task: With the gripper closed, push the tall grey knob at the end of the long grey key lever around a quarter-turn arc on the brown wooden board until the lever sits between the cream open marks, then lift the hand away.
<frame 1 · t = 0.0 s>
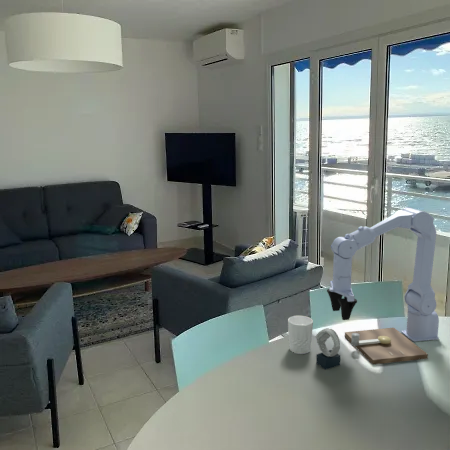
hand: (340, 314, 153), 10 cm above the table, tool pointing down, fingers open, 7 cm apart
key lever: (371, 337, 151), point 4 cm above the table, hinge at 0.0°
watch: (327, 364, 142), on the table
white cup: (299, 349, 152), on the table
brown wooden board: (383, 346, 152), on the table
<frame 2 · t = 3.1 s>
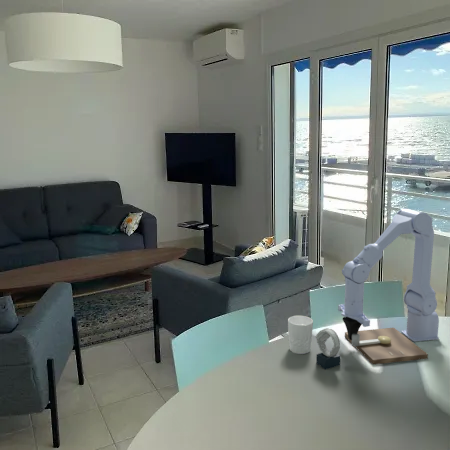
hand: (352, 339, 152), 3 cm above the table, tool pointing down, fingers closed
key lever: (371, 338, 151), point 4 cm above the table, hinge at 1.4°, touching gripper
everything else where it was.
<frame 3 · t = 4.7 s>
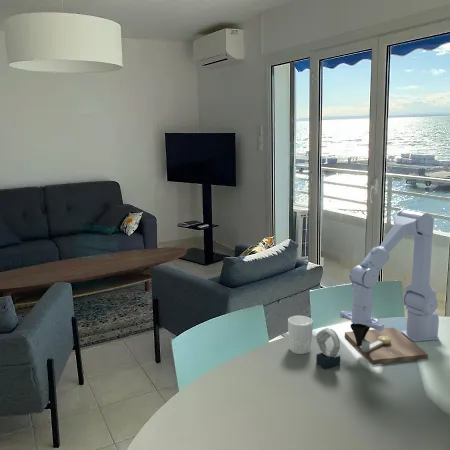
hand: (359, 345, 147), 3 cm above the table, tool pointing down, fingers closed
key lever: (376, 340, 149), point 4 cm above the table, hinge at 28.2°, touching gripper
everything else where it was.
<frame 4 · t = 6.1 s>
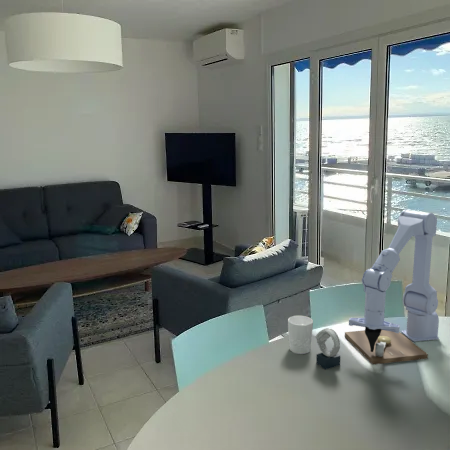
hand: (372, 350, 144), 3 cm above the table, tool pointing down, fingers closed
key lever: (382, 342, 148), point 4 cm above the table, hinge at 53.5°, touching gripper
everything else where it was.
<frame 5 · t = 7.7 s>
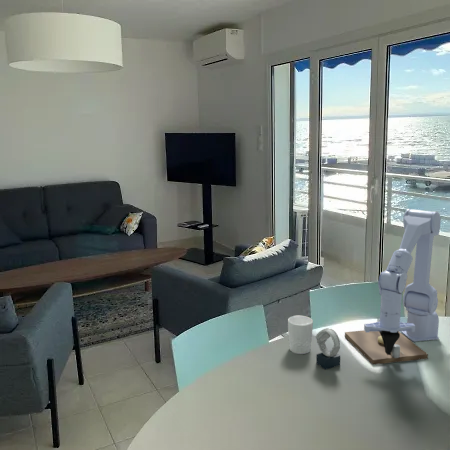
hand: (387, 353, 142), 3 cm above the table, tool pointing down, fingers closed
key lever: (389, 343, 147), point 4 cm above the table, hinge at 80.2°, touching gripper
everything else where it was.
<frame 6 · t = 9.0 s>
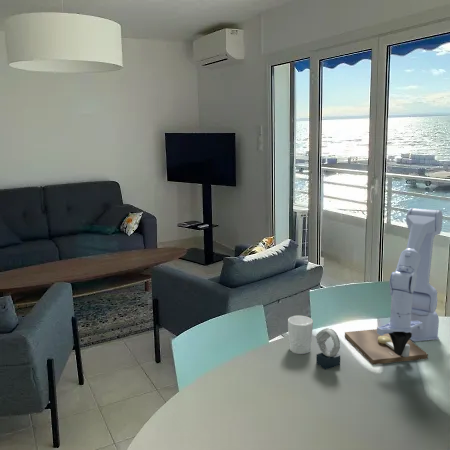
hand: (398, 353, 142), 3 cm above the table, tool pointing down, fingers closed
key lever: (393, 342, 147), point 4 cm above the table, hinge at 98.2°, touching gripper
everything else where it was.
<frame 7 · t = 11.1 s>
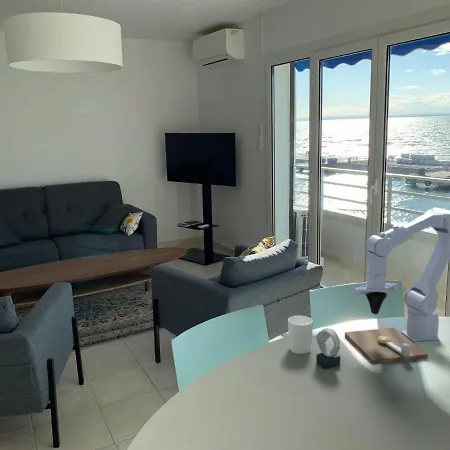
hand: (374, 313, 153), 10 cm above the table, tool pointing down, fingers closed
key lever: (393, 342, 147), point 4 cm above the table, hinge at 98.5°
everything else where it was.
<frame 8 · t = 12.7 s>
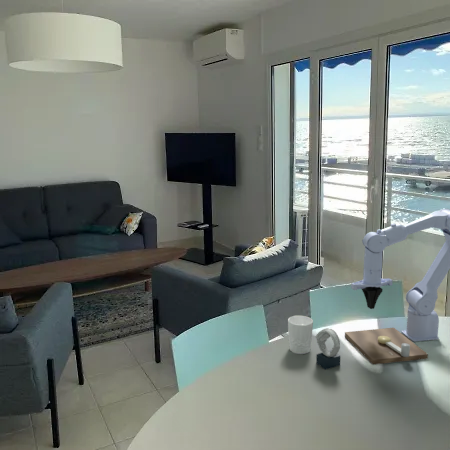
hand: (370, 307, 158), 10 cm above the table, tool pointing down, fingers closed
nothing on the table moved.
at the end: key lever at +98° (first picture: +0°); the gripper is holding nothing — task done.
